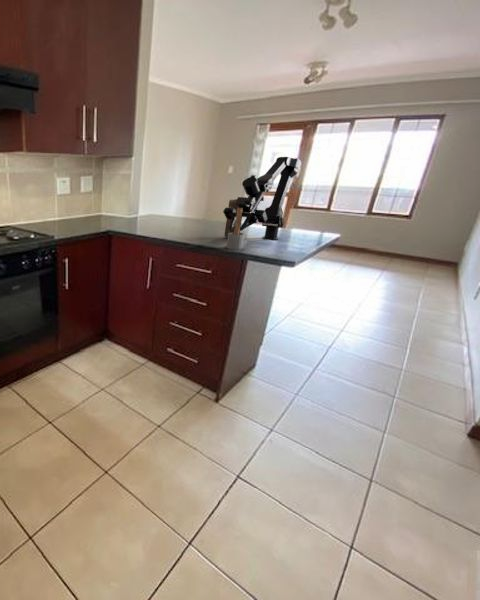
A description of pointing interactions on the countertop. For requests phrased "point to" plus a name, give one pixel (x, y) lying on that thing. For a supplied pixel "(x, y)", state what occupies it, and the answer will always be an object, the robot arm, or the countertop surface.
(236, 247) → the grey cube
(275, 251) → the countertop surface
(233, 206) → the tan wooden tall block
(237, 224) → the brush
